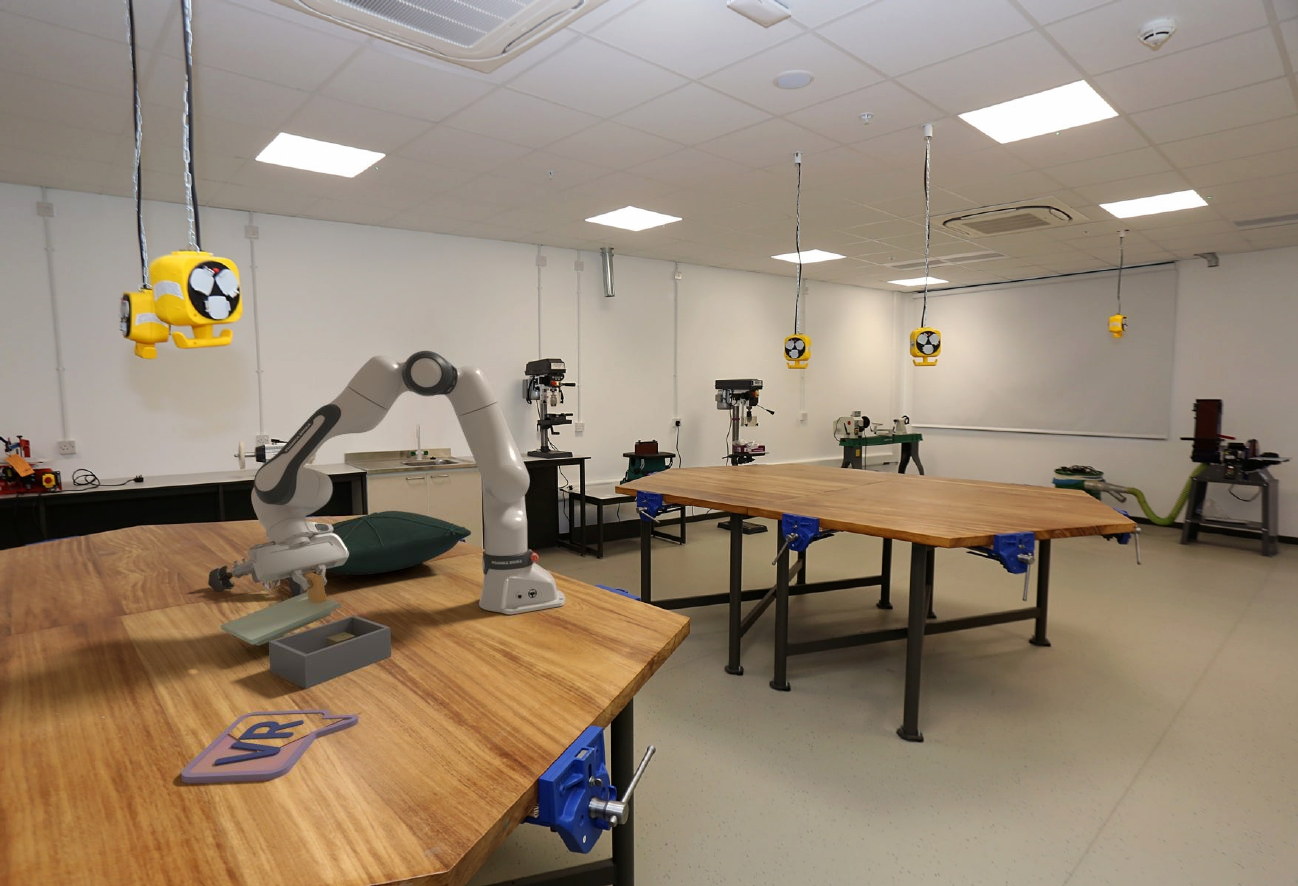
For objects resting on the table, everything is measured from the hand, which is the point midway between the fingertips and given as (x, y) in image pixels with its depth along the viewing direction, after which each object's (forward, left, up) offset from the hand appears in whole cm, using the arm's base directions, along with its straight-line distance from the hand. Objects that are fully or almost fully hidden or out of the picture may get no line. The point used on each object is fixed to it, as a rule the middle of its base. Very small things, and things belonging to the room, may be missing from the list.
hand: (316, 586), depth 148 cm
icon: (-2, +49, -12) cm, 51 cm away
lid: (+6, +4, -7) cm, 10 cm away
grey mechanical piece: (+21, -40, -12) cm, 47 cm away
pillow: (-9, -56, -12) cm, 58 cm away
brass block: (-7, +16, -11) cm, 21 cm away
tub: (-6, +20, -11) cm, 24 cm away
